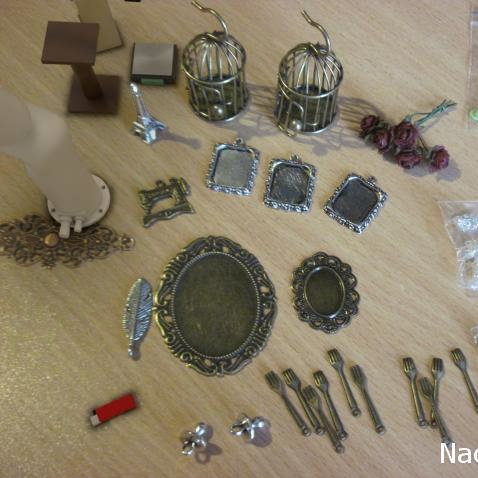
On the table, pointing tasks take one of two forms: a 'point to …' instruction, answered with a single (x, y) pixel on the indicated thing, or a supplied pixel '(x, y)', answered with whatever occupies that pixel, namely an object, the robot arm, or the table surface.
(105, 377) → the table surface
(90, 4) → the beige tall block
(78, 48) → the stand
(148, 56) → the scale
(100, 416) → the lighter
